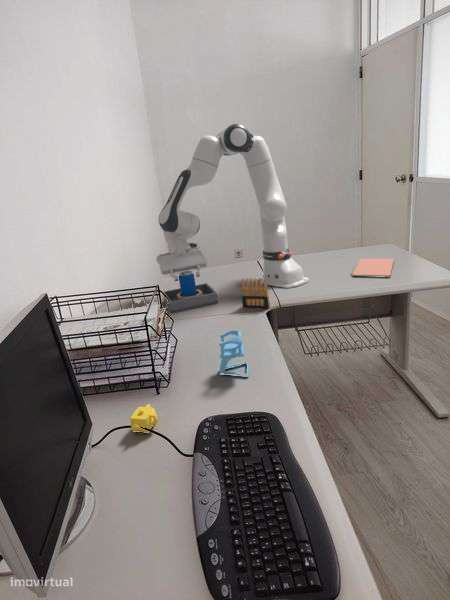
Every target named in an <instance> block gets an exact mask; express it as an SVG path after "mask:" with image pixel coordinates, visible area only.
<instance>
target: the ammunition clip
mask: <svg viewBox="0 0 450 600" xmlns="http://www.w3.org/2000/svg"><path fill="white" fill-rule="evenodd" d="M241 293H242V296H241V299H242V300H241V302H242V308H243V309H255V308H261V310H262V309H263V310H269V309H270V308H271V304H270V297H269V296H270V295H269V290H268V285H267V283H266V279H264V284H262V279H261V278H259V282H258V279H257V278H255V280H253V278H250V281H249V278H246V281H245V279H244V278H242V280H241Z"/></svg>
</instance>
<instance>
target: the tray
mask: <svg viewBox="0 0 450 600" xmlns="http://www.w3.org/2000/svg"><path fill="white" fill-rule="evenodd" d="M195 285H196V292H197V295H195V296H190V297H182V295H181V289H180V288H175V289H169V290H164V291H162V294H163V293H164V294H165V295H166V296H167V297H168V299H169V304H168V307H167V308H168V310H169V311H170V313H171V314H174V313H179V312H182V311H187V310H192V309H198V308H202V307H207V306H210V305H211V306H212V305H215V304H219V295H218V292H217V291H216V290H215V289H214V288H213V287H212V286H211V285H210V284H208V283H207V282H205V283H200V284H195ZM163 300H164V303H165V305H166V304H167V299H166V298H165V297H164V296H163Z"/></svg>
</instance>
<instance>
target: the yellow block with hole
mask: <svg viewBox="0 0 450 600" xmlns="http://www.w3.org/2000/svg"><path fill="white" fill-rule="evenodd" d="M132 413H133V414H132V415H131V416H130V418H129V419H130V427H131V431H132V430H133V431H140V432H148V431H147V430H145V429H143V428H147V429H151V428H152V427H153V426H154V424H155V425H156V424H158V422H159V418H158V415H157V413H156V411H155V408H154V407H152V404H146V406H138V407H137V408H136V409H135V411H134V412H132ZM141 427H143V428H141ZM154 427H155V426H154ZM154 427H153V428H154ZM133 431H132V432H133Z"/></svg>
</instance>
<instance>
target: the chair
mask: <svg viewBox="0 0 450 600" xmlns="http://www.w3.org/2000/svg"><path fill="white" fill-rule="evenodd" d="M230 335H233V336H235V337H229V338H226V339H224V338H225V337H227V336H230ZM242 336H243V335H242V331H240V330H239V331H238V330H229V331H225V333H221V334H220V335H219V337H220V340H221V342H219V343H218V345H219V347H220V353H219V358H220V359H221V361H220V366H219V373H224V374H237V375H248V365H249V363H248V364H247V363H246V362H247V361H248V360H246V361H241V362H240V361H239V362H237V363H233V364H229V365H228V363H229V362H230V360H233V359H235V358H242V357H245V354H244V353H245V352H244V349H245V348H244V343H243V342H242V341H243V338H242ZM242 363H246V364H247V369H246V368H245V369H246V373H243V372H235V371H234V372H233V371H229V370H225V368H228V367H232V366H236V365H239V364H242Z"/></svg>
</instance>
